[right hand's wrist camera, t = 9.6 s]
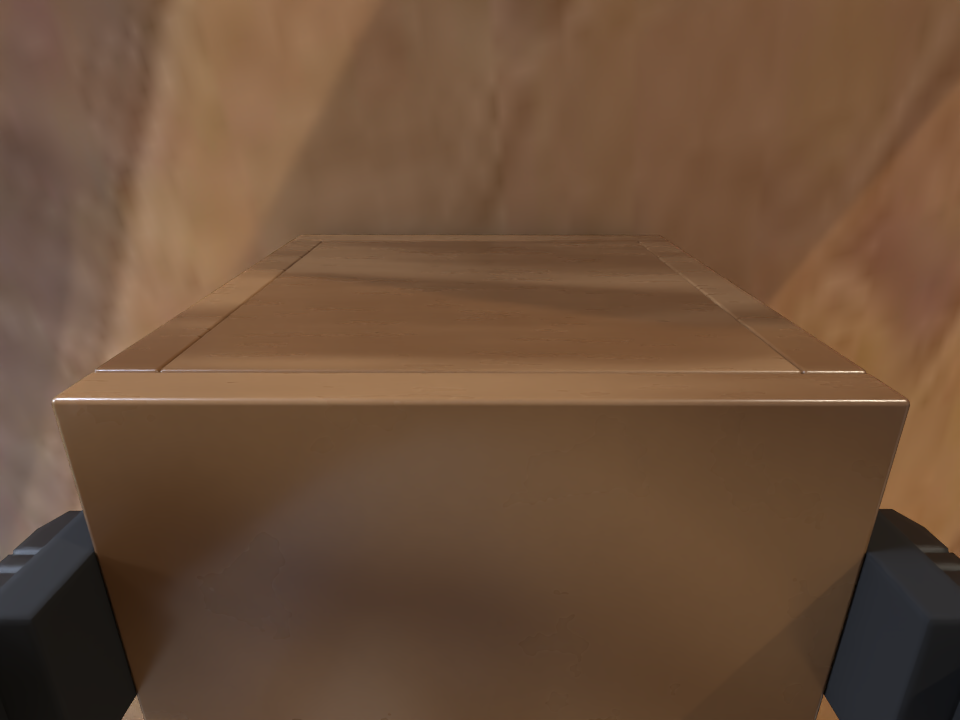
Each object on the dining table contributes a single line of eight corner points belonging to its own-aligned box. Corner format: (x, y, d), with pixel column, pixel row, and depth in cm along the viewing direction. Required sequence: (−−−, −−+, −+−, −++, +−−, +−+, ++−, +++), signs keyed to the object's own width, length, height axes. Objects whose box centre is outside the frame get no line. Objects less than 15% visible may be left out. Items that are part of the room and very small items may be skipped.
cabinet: (602, 746, 26) (684, 1164, 15) (355, 745, 26) (272, 1164, 15) (661, 234, 17) (914, 400, 7) (299, 234, 17) (46, 398, 7)
